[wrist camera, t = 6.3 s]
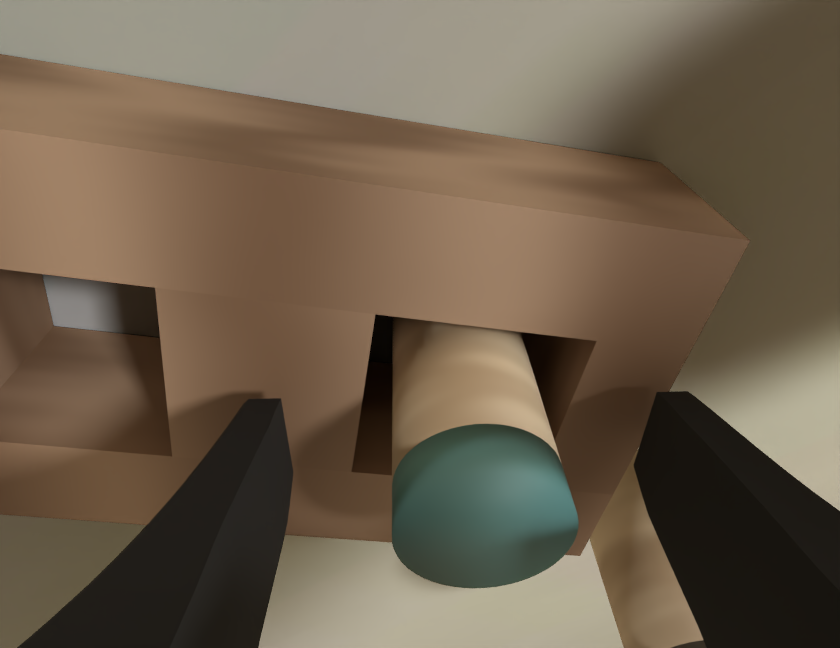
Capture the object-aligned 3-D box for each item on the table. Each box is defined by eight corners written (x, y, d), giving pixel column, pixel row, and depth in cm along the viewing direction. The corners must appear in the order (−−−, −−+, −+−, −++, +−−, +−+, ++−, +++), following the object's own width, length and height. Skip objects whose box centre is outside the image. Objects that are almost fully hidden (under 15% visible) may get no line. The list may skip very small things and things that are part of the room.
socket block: (660, 162, 13) (750, 240, 10) (545, 441, 18) (580, 555, 15) (-115, 35, 11) (-331, 79, 8) (-4, 388, 16) (-107, 506, 13)
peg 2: (679, 453, 19) (806, 689, 13) (644, 513, 20) (742, 745, 14) (590, 445, 18) (680, 682, 12) (562, 506, 20) (629, 741, 14)
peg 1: (508, 246, 14) (586, 464, 8) (507, 344, 16) (571, 581, 10) (387, 256, 14) (381, 479, 8) (398, 352, 16) (400, 594, 10)
